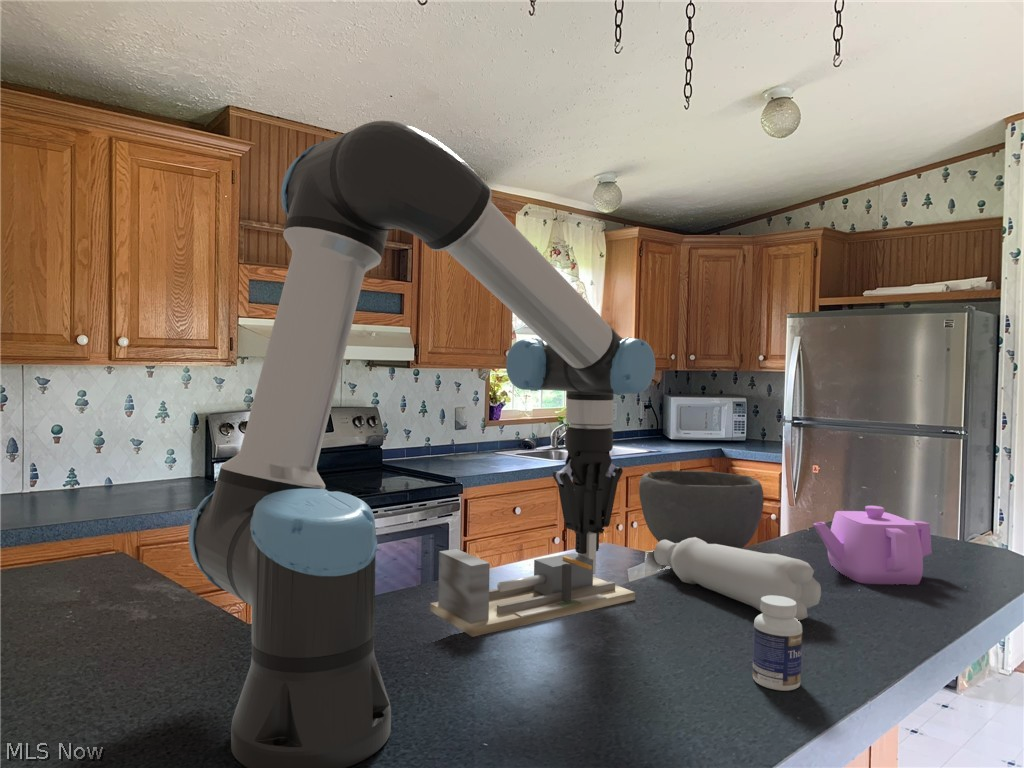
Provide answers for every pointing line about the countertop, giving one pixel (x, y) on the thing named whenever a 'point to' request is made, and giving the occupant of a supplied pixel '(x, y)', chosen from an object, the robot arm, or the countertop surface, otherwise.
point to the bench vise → (507, 598)
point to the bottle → (741, 572)
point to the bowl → (701, 506)
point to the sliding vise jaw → (554, 574)
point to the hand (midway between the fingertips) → (586, 572)
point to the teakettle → (876, 546)
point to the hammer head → (566, 583)
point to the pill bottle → (777, 644)
